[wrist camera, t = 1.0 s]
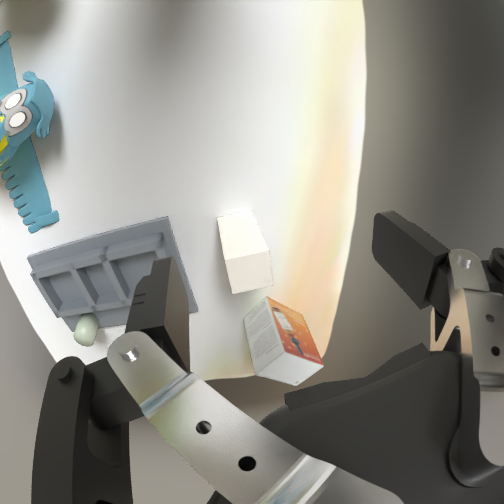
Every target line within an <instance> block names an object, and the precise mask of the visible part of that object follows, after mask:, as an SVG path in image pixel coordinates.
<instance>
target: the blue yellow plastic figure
mask: <svg viewBox="0 0 504 504" xmlns="http://www.w3.org/2000/svg"><path fill="white" fill-rule="evenodd" d="M10 37H11V33H10V31H7V32H5V33H4V34H3V35H1V36H0V171H2V170H4V169H6V168H8V167H9V166H10V167H9V168H8V169H7V170H5V171H4V172H3V173H2V179H3V180H7V179H8V178H10V177H12V176H13V175H15V176H14V177H12V178H11V179H10V180H9V181H7V183H6V188H7V189H12V188H13V187H15V186H17V185H18V186H17V187H16V188H15V189H13V190H12V191H11V192H10V198H12V199H14V198H16V197H18V196H20V195H22V194H23V195H22V196H20V197H19V198H18V199H16V200H15V201H14V207H16V208H19V207H21V206H23V205H25V204H26V205H25V206H23V207H22V208H21V209H20V210H19V211H18V214H19V215H20V216H25V215H27V214H29V213H30V214H29V215H27V216H26V217H25V218H24V219H23V223H24V224H25V225H29V224H31V223H33V222H35V223H34V224H32V225H30V226H29V227H28V231H29V232H30V233H34V232H37V231H38V230H40V229H41V228H43V227H44V226H46V225H50V224H53V223H55V222H57V221H59V214H58V211H57V210H56V211H53V212H51V211H52V210H51V204H50V199H49V195H48V191H47V188H46V185H45V182H44V179H43V175H42V172H41V169H40V166H39V163H38V160H37V157H36V154H35V151H34V148H33V145H32V141H31V138H30V135H31V134H32V133H33V132H34V131H35V130H36V134H37V136H38V138H40V137H42V138H43V139H44V138H45V136H48V135H49V125H50V121H51V118H52V116H53V109H54V97H53V94H52V92H51V90H50V88H49V86H48V85H47V84H46V82H45V81H44V80H40V79H38V78H37V77H36V75H35V73H34V72H32V73H31V72H30V71H27V72H26V73H25V72H24V73H23V79H24V80H25V81H27V82H33V83H30V84H27V85H25V86H23V87H20V88H18V85H17V80H16V74H15V68H14V64H13V59H12V54H11V48H10V45H9V43H8V41H6V40H7V39H9V38H10Z"/></svg>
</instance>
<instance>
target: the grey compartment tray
mask: <svg viewBox="0 0 504 504" xmlns="http://www.w3.org/2000/svg"><path fill="white" fill-rule="evenodd" d="M171 256H173V257H174V258H175V260H176V263H177V266H178V269H179V272H180V275H181V277H182V280H183V283H184V286H185V289H186V292H187V296H188V301H189V313H192V312H198V307H197V304H196V302H195V299H194V296H193V293H192V290H191V287H190V285H189V282H188V279H187V276H186V273H185V270H184V267H183V264H182V261H181V258H180V255H179V251H178V248H177V245H176V242H175V239H174V235H173V232H172V229H171V226H170V222H169V219H168V216H167V217H163V218H159V219H155V220H151V221H147V222H143V223H139V224H135V225H131V226H127V227H123V228H120V229H116V230H112V231H109V232H105V233H101V234H98V235H94V236H91V237H87V238H84V239H80V240H77V241H74V242H70V243H67V244H64V245H61V246H57V247H54V248H51V249H48V250H45V251H42V252H39V253H35V254H32V255H29V256H28V257H27V259H28V261H29V263H30V265H31V267H32V269H33V270H32V272H31V273H30V275H31V277H32V278H33V280H34V282H35V284H36V285H37V287H38V289H39V290H40V292H41V294H42V295H43V297H44V298H45V300H46V302H47V303H48V305H49V306H50V308H51V309H52V311H53V312H54V314H55V315H56V317H57V318H59V317H62V318H63V320H64V321H65V323H66V324H67V325H68V327H69V328H70V330H71V331H72V332H74V339H75V340H76V342H78V343H79V344H81V345H83V346H92V345H93V343H94V340H95V336H96V332H97V329H98V328H104V327H111V326H118V325H124V324H127V320H128V316H129V312H130V307H131V306H132V304H131V303H132V299H133V298H134V296H133V295H134V292H135V288H136V285H137V284H138V283H139V281H140V280H141V279H142V277H143V276H147V275H150V273H151V269H152V264H153V261H154V260H158V259H162V258H167V257H171Z"/></svg>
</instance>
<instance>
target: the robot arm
mask: <svg viewBox="0 0 504 504" xmlns="http://www.w3.org/2000/svg"><path fill="white" fill-rule="evenodd" d="M372 252H373V256H374V258H375V260H376V261H377V262H378V263H379V264H380V266H382V268H383V269H384V270H385V271H386V272H387V273H388V274H389V275H390V276H391V277H392V278H393V279H394V281H396V283H397V284H398V285H399V286H400V287H401V288H402V289H403V290H404V292H405V293H406V294H407V295H408V296H409V297H410V298H411V299H412V301H413V302H414V303H415V304H416V305H417V306H418V308H419V309H423V308H425V307H427V306H430V305H432V306H433V308H432V311H431V349H430V351H428V350H427V348H426V347H425V345H424V344H423V343H421V344H419V345H417V346H414V347H412V348H410V349H408V350H406V351H404V352H402V353H399V354H397V355H395V356H394V357H392V358H391V359H390V360H388V361H387V362H386V363H385V364H383V365H382V366H381V367H379V368H378V369H377V370H375V371H374V372H373V373H371V374H370V375H368V376H367V377H364V378H358V379H351V380H343V381H334V382H324V383H320V384H317V385H314V386H311V387H307V388H304V389H300V390H297V391H293V392H290V393H286V394H284V397H285V405H283V406H281V407H280V408H278V409H277V410H275V411H273V412H272V413H270V414H269V415H268V416H266V417H265V418H264V419H263V420H262V421H261V422H260V423H257V422H256V421H254V420H253V419H252V418H250V417H249V416H248V415H246V414H245V413H243V412H242V411H241V410H239V409H238V408H237V407H235V406H234V405H233V404H232V403H230V402H229V401H228V400H226V399H225V398H224V397H222V396H221V395H220V394H219V393H218V392H216V391H215V390H214V389H212V388H211V387H210V386H209V385H208V384H207V383H205V382H204V381H203V380H202V379H201V378H200V377H198V376H197V375H196V374H194V373H193V372H190V353H189V301H188V296H187V292H186V289H185V286H184V283H183V280H182V277H181V275H180V272H179V269H178V266H177V263H176V260H175V258H174V257H173V256H171V257H167V258H162V259H158V260H154V261H153V264H152V269H151V273H150V275H147V276H143V277H142V279H141V280H140V281H139V283H138V284H137V285H136V288H135V292H134V295H133V296H134V298H133V299H132V303H131V304H132V306H131V307H130V312H129V316H128V320H127V325H126V329H125V334H123V335H121V336H120V337H118V338H117V339H116V340H115V341H114V342H113V343H112V344H111V345H110V347H109V349H108V353H107V357H105V358H103V359H101V360H98V361H96V362H94V363H91V364H89V365H85V364H84V363H83V362H82V361H81V360H80V359H79V358H78V357H74V356H70V357H66V358H64V359H62V360H60V361H59V362H58V363H57V364H56V365H55V366H54V367H53V369H52V370H51V372H50V374H49V378H48V382H47V386H46V390H45V394H44V398H43V403H42V408H41V412H40V418H39V423H38V429H37V435H36V442H35V450H34V459H33V471H32V493H31V494H32V496H31V497H32V498H31V499H32V500H31V504H133V498H132V487H131V475H130V456H129V421H132V420H134V419H137V418H140V417H142V416H145V417H146V418H147V419H148V420H149V422H150V423H151V424H152V425H153V426H154V428H155V429H156V430H157V431H158V432H159V433H160V435H161V436H162V437H163V438H164V439H165V440H166V441H167V442H168V443H169V445H170V446H171V447H172V448H173V449H174V450H175V451H176V452H177V453H178V454H179V455H180V456H181V457H182V458H183V459H184V460H185V461H186V462H187V463H188V464H189V465H190V466H191V467H192V468H193V469H194V470H195V471H196V472H197V473H198V474H199V475H200V476H201V477H202V478H203V479H204V480H205V481H207V482H208V483H209V484H210V485H211V486H212V487H214V489H216V490H215V492H214V493H213V495H212V497H211V498H210V500H209V501H208V503H207V504H504V249H503V248H494V249H493V250H492V252H491V255H490V258H489V260H484V261H480V259H479V258H478V257H477V256H476V255H474V254H473V253H471V252H469V251H467V250H463V249H455V250H452V251H450V250H449V249H448V248H446V247H445V246H444V245H443V244H441V243H440V242H439V241H437V240H436V239H435V238H434V237H432V236H430V234H428V233H427V232H426V231H423V229H422V228H420V227H419V226H417V225H416V224H414V223H411V222H409V221H407V220H406V219H405V218H404V217H402V216H401V215H399V214H398V213H396V212H395V211H386V212H382V213H377V214H376V215H375V217H374V228H373V241H372Z"/></svg>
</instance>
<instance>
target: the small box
mask: <svg viewBox="0 0 504 504" xmlns="http://www.w3.org/2000/svg"><path fill="white" fill-rule="evenodd" d="M244 325H245V329H246V334H247V339H248V344H249V349H250V353H251V358H252V362H253V367H254V371H255V375H257V376H262V377H266V378H270V379H273V380H277V381H281V382H284V383H288V384H291V385H294V386H297V385H298V384H300V383H301V382H303V381H304V380H306V379H307V378H308V377H310V376H311V375H312V374H314V373H315V372H317V371H318V370H319V369H320V368H322V367H323V366H324V364H323V362H322V360H321V357H320V355H319V352H318V350H317V348H316V345H315V343H314V341H313V338H312V336H311V334H310V331H309V329H308V326H307V324H306V322H305V320H304V317H303V315H302V314H299V313H297V312H295V311H293V310H291V309H289V308H288V307H286V306H284V305H282V304H280V303H278V302H277V301H275V300H273V299H271V298H270V297H268V296H266V297H265V298H264V299H263V300H262V301H261V303H259V304H258V305H257V306H256V307H255V308H254V309H253V310H252V311H251V312H250V313H249V314H248V315H247V316H246V317H245V318H244Z"/></svg>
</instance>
